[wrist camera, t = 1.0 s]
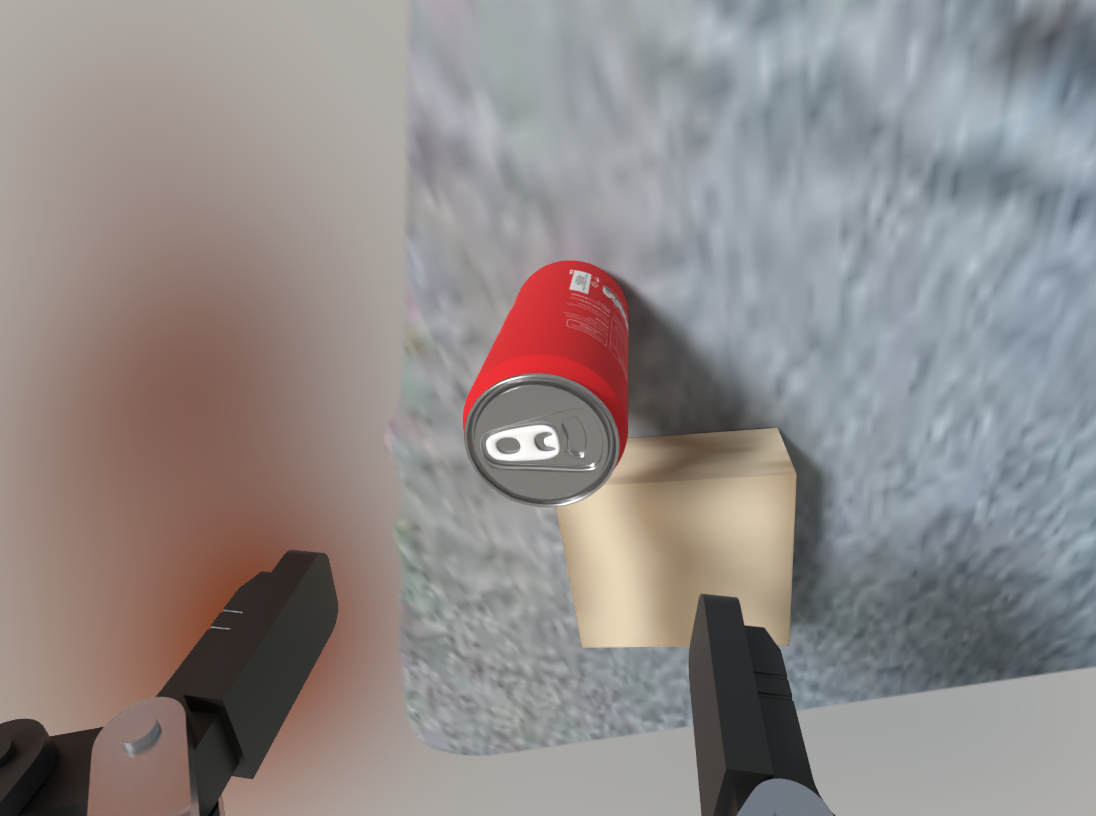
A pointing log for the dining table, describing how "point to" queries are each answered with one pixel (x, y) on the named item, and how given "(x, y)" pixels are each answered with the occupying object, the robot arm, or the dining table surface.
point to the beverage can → (553, 390)
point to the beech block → (683, 538)
